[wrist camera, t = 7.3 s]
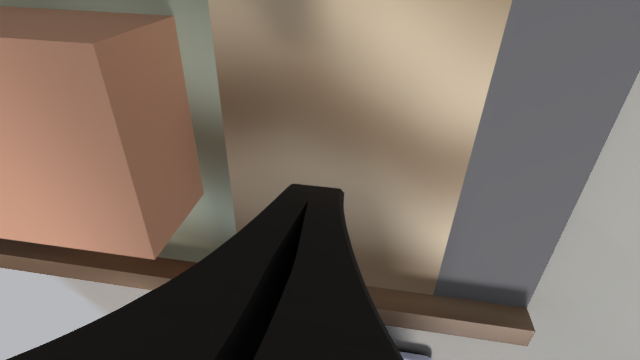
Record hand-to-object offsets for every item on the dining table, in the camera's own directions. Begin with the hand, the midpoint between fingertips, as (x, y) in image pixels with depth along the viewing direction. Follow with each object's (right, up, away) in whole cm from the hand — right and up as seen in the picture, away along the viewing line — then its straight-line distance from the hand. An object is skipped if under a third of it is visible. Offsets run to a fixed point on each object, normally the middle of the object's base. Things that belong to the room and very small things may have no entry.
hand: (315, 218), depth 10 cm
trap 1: (+7, +2, +4) cm, 9 cm away
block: (-8, +4, +5) cm, 10 cm away
